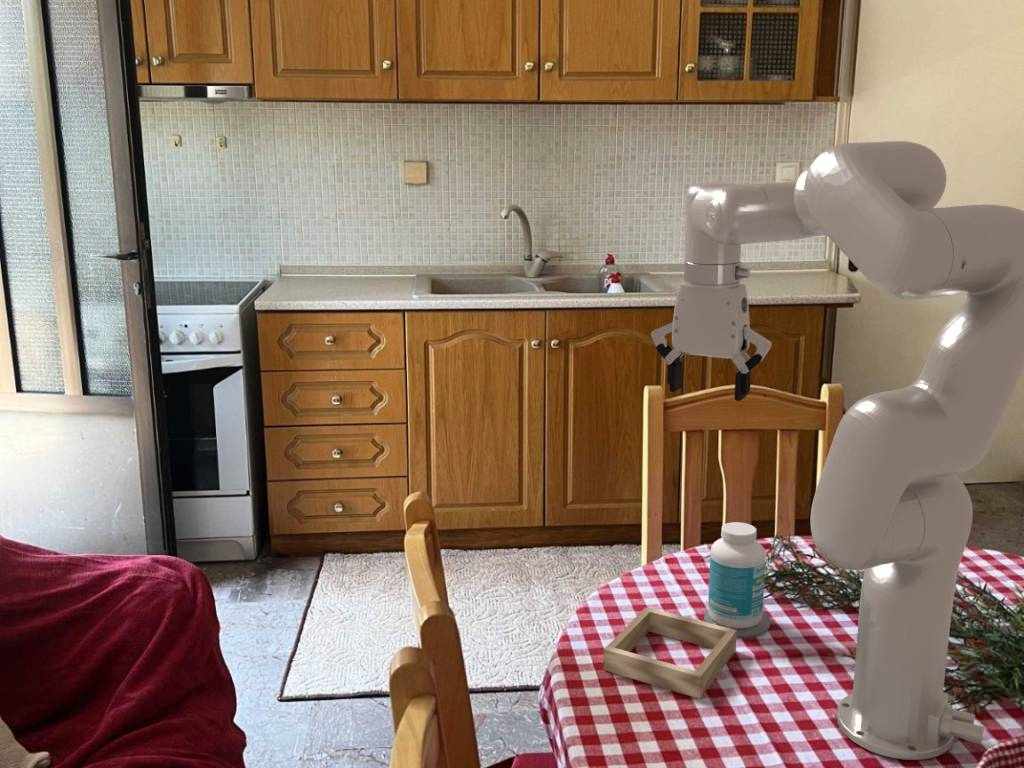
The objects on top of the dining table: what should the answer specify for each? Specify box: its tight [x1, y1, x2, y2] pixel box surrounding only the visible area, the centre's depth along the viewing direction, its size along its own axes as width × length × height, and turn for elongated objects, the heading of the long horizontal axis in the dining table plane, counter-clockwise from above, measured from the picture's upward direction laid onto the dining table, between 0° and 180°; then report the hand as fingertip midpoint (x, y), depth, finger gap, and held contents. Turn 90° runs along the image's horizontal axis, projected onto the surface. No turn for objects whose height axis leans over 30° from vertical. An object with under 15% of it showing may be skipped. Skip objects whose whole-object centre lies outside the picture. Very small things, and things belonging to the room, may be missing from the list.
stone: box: [703, 608, 771, 639], centre depth 140 cm, size 9×9×1 cm
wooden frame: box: [603, 606, 738, 700], centre depth 130 cm, size 13×13×3 cm
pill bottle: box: [707, 521, 767, 629], centre depth 138 cm, size 8×7×14 cm
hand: (707, 394), depth 142 cm, fingers open, 9 cm apart
